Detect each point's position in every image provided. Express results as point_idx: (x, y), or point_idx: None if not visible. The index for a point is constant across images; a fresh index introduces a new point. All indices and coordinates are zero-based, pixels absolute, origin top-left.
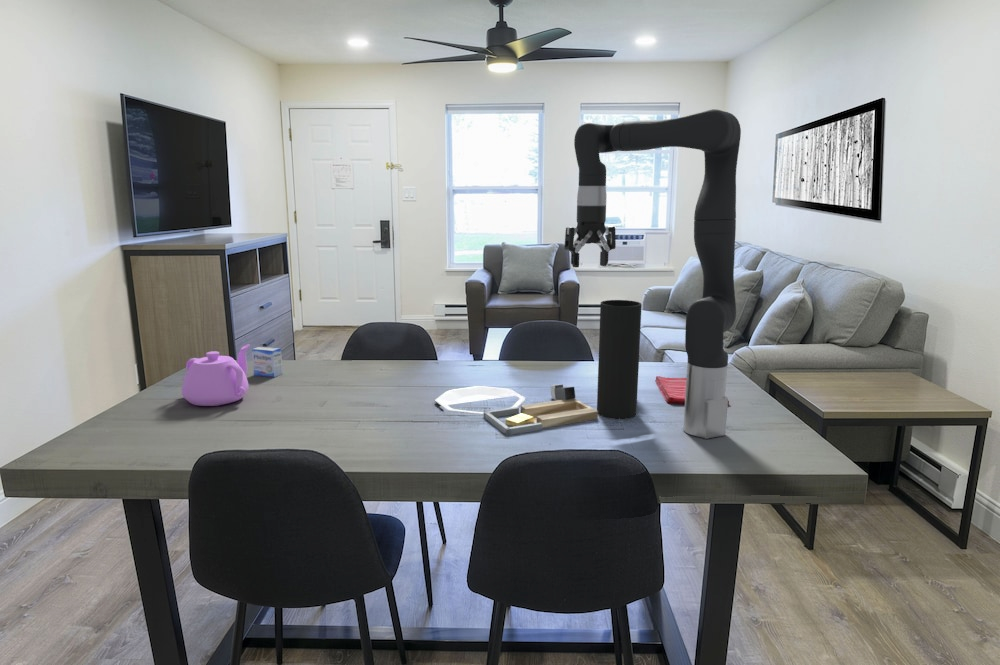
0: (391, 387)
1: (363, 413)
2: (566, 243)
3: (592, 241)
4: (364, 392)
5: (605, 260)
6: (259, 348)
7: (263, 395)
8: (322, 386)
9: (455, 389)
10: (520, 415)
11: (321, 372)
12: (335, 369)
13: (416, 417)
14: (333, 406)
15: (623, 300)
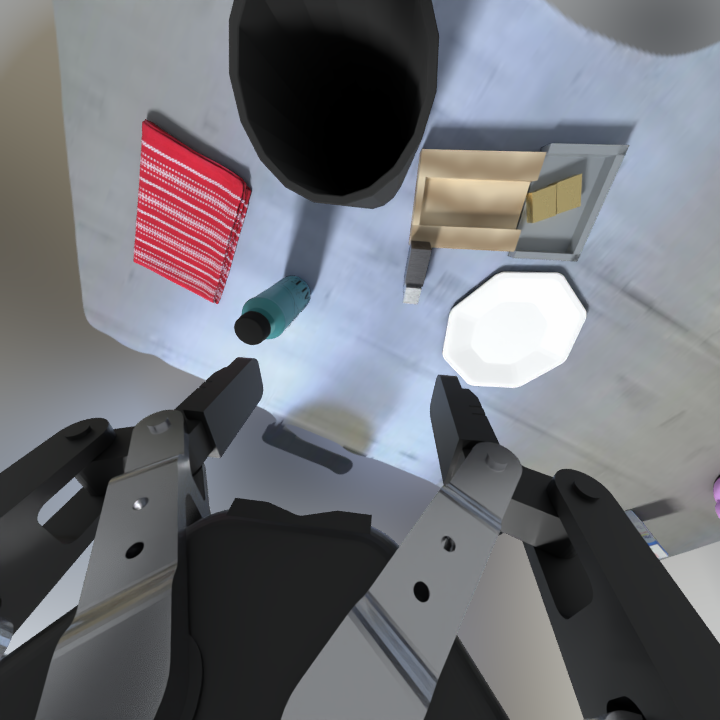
0: (554, 433)
1: (670, 366)
2: (587, 586)
3: (296, 530)
4: (596, 432)
5: (232, 373)
6: (660, 555)
7: (696, 469)
8: (616, 467)
9: (507, 385)
10: (544, 211)
11: None
12: None
13: (631, 320)
14: (673, 405)
15: (277, 167)
